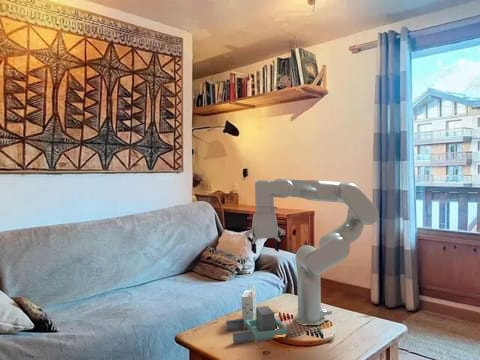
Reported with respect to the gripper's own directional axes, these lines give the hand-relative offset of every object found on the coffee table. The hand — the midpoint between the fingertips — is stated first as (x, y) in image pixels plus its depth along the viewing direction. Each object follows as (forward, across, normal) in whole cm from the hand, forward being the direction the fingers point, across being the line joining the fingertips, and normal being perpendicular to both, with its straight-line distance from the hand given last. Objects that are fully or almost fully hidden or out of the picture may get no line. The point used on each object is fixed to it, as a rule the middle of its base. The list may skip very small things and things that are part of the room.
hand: (265, 251), depth 160 cm
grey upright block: (+30, +3, +7) cm, 30 cm away
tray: (+30, +3, +7) cm, 31 cm away
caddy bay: (+30, +14, +7) cm, 34 cm away
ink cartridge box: (+31, +6, -6) cm, 32 cm away
